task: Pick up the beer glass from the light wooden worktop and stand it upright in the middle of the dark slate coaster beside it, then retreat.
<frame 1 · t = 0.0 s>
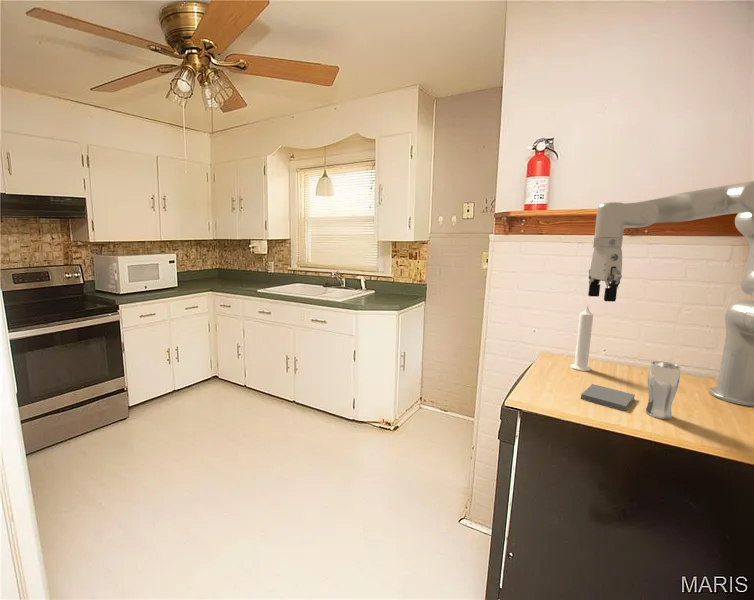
hand: (601, 298, 118), 31 cm above the table, tool pointing down, fingers open, 9 cm apart
candle: (580, 368, 146), on the table
beer glass: (658, 415, 108), on the table
slate coaster: (607, 398, 118), on the table
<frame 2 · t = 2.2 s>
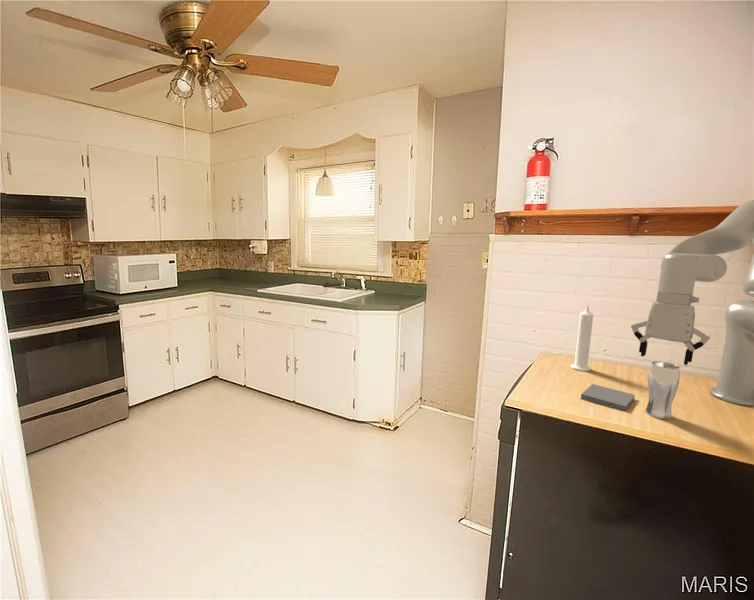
hand: (663, 359, 105), 17 cm above the table, tool pointing down, fingers open, 9 cm apart
nothing on the table moved.
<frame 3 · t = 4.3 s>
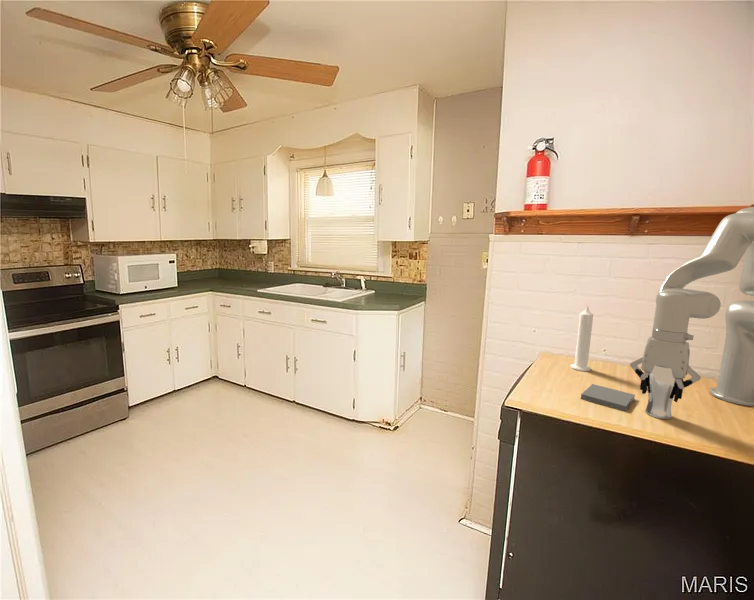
hand: (659, 395, 107), 6 cm above the table, tool pointing down, fingers closed on beer glass, 6 cm apart
beer glass: (658, 415, 108), on the table, touching gripper
everything else where it was.
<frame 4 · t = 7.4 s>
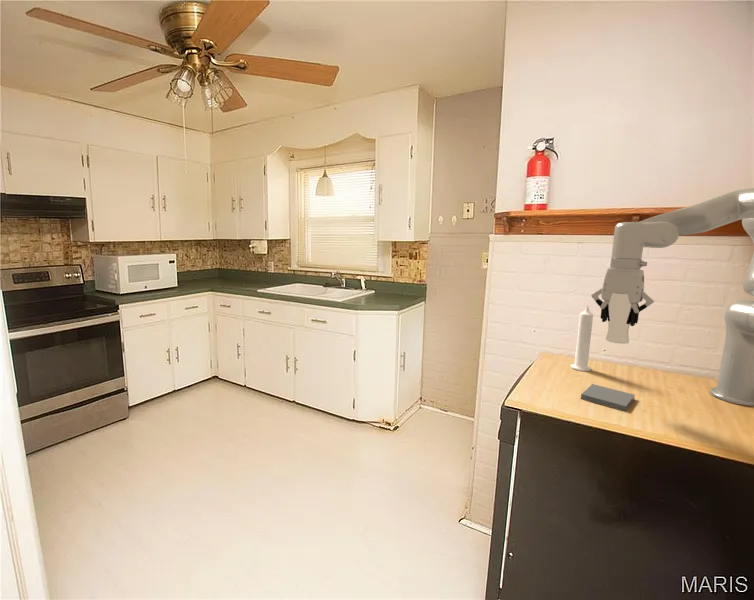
hand: (618, 322, 114), 25 cm above the table, tool pointing down, fingers closed on beer glass, 6 cm apart
beer glass: (617, 341, 115), point 19 cm above the table, touching gripper
everything else where it was.
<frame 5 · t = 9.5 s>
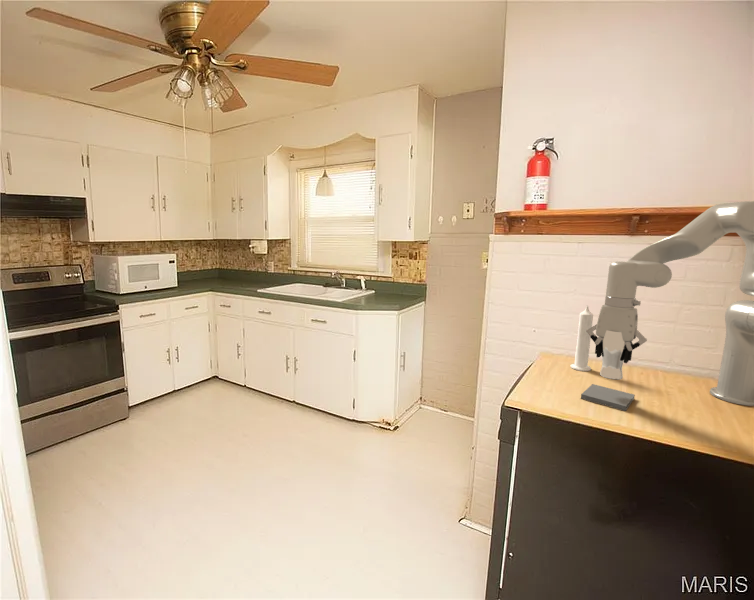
hand: (612, 358, 116), 13 cm above the table, tool pointing down, fingers closed on beer glass, 6 cm apart
beer glass: (610, 376, 117), point 7 cm above the table, touching gripper
everything else where it was.
when the fingers open (9 cm above the table, at t = 11.0 s): beer glass drops 1 cm, resting on slate coaster.
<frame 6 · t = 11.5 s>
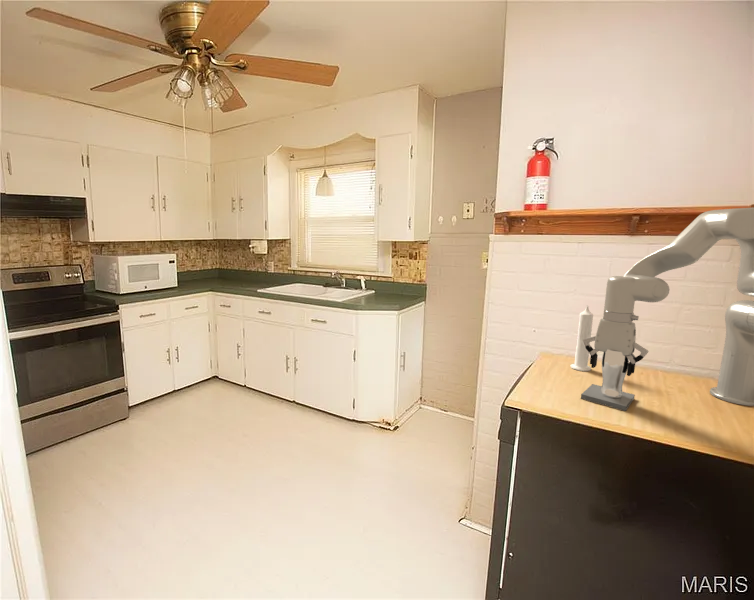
hand: (610, 370, 116), 9 cm above the table, tool pointing down, fingers open, 9 cm apart
beer glass: (610, 395, 118), point 1 cm above the table, touching slate coaster
everything else where it was.
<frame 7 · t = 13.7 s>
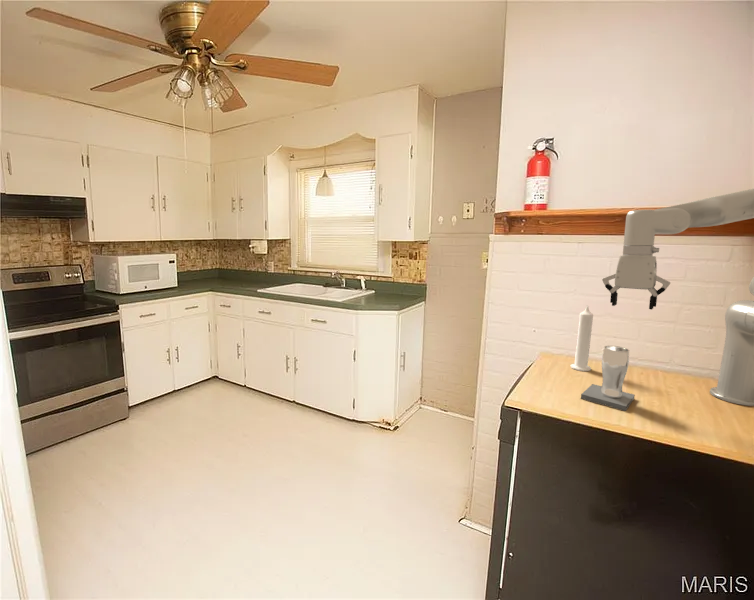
hand: (632, 307, 116), 29 cm above the table, tool pointing down, fingers open, 9 cm apart
nothing on the table moved.
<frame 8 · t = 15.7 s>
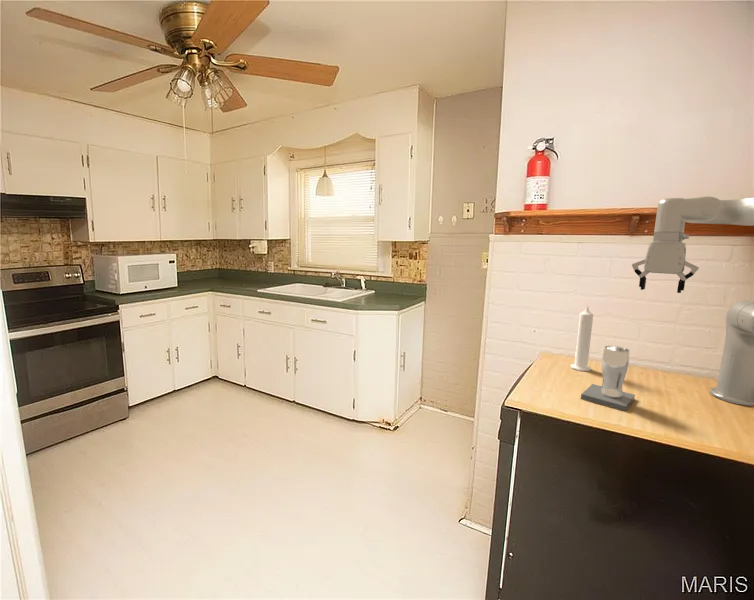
hand: (660, 290, 122), 33 cm above the table, tool pointing down, fingers open, 9 cm apart
nothing on the table moved.
at the end: beer glass 0.9 cm off-centre on the slate coaster, point 1.3 cm above the slate coaster's base; beer glass tilted 0°; the gripper is holding nothing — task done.
